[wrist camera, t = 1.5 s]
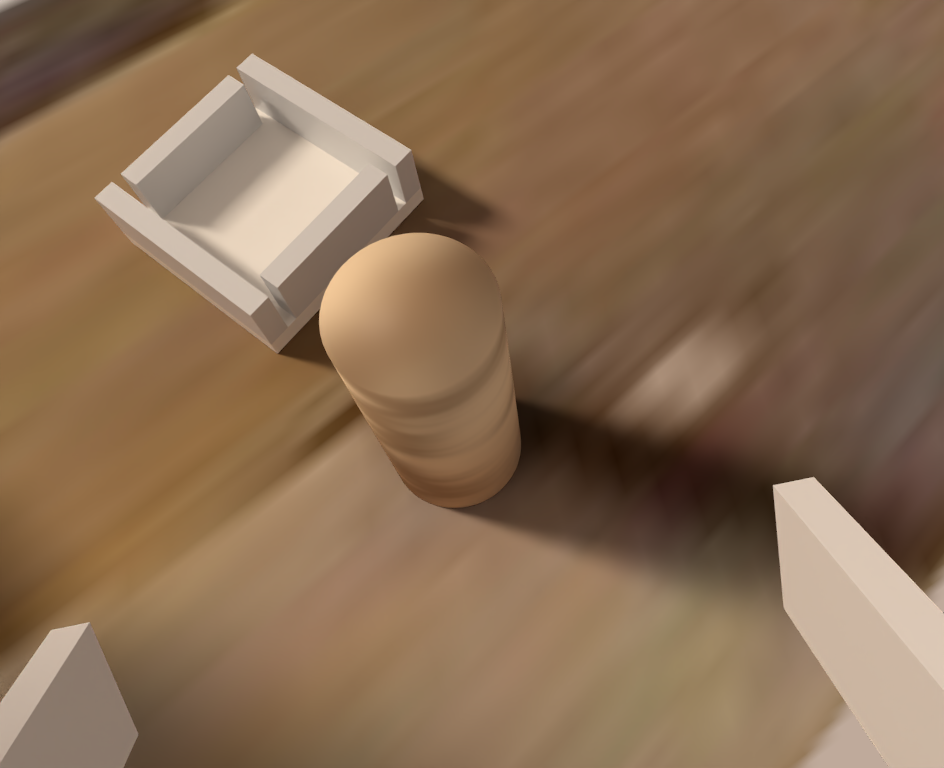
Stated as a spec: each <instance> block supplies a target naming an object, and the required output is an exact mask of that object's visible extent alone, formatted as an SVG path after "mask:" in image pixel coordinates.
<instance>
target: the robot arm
mask: <svg viewBox="0 0 944 768" xmlns="http://www.w3.org/2000/svg"><path fill="white" fill-rule="evenodd" d="M773 492H774V504H775V515H776V526H777V538H778V549H779V561H780V572H781V583H782V595H783V606H784V609H785V611H786V612H787V614H788V615H789V617H790V619H791V620H792V622H793V623H794V625H795V626H796V628H797V629H798V631H799V632H800V634H801V635H802V637H803V638H804V640H805V641H806V643H807V644H808V646H809V647H810V649H811V650H812V652H813V653H814V655H815V656H816V658H817V659H818V661H819V663H820V664H821V666H822V667H823V669H824V670H825V672H826V673H827V675H828V676H829V678H830V679H831V681H832V682H833V684H834V685H835V687H836V688H837V690H838V691H839V693H840V694H841V696H842V697H843V699H844V700H845V702H846V703H847V705H848V707H849V708H850V710H851V711H852V713H853V714H854V716H855V717H856V718H857V720H858V722H859V723H860V725H861V726H862V728H863V729H864V731H865V732H866V734H867V735H868V737H869V738H870V740H871V741H872V743H873V744H874V746H875V747H876V749H877V750H878V752H879V753H880V755H881V756H882V758H883V760H884V761H885V763H886V764H887V766H888V767H889V768H944V612H942V611H941V610H940V609H939V608H938V607H937V606H936V605H935V604H934V603H933V602H932V601H931V600H930V599H929V597H928V596H927V595H926V594H925V593H924V592H923V591H922V590H921V589H920V588H919V587H918V586H917V585H916V584H915V583H914V582H913V581H912V580H911V579H910V578H909V576H908V575H907V574H906V573H905V572H904V571H903V570H902V569H901V568H900V567H899V566H898V565H897V564H896V563H895V562H894V561H893V560H892V559H891V558H890V557H889V555H888V554H887V553H886V552H885V551H884V550H883V549H882V548H881V547H880V546H879V545H878V544H877V543H876V542H875V541H874V540H873V539H872V538H871V537H870V536H869V534H868V533H867V532H866V531H865V530H864V529H863V528H862V527H861V526H860V525H859V524H858V523H857V522H856V521H855V520H854V519H853V518H852V517H851V516H850V515H849V513H848V512H847V511H846V510H845V509H844V508H843V507H842V506H841V505H840V504H839V503H838V502H837V501H836V500H835V499H834V498H833V497H832V496H831V495H830V494H829V492H828V491H827V490H826V489H825V488H824V487H823V486H822V485H821V484H820V483H819V482H818V481H817V480H816V479H815V478H814V477H812V478H807V479H802V480H797V481H792V482H787V483H782V484H777V485H773ZM138 735H139V734H138V732H137V730H136V727H135V725H134V723H133V721H132V718H131V716H130V714H129V711H128V709H127V707H126V704H125V702H124V700H123V698H122V695H121V693H120V691H119V688H118V686H117V684H116V681H115V679H114V677H113V675H112V672H111V670H110V668H109V665H108V663H107V661H106V658H105V656H104V654H103V652H102V649H101V647H100V645H99V642H98V640H97V638H96V635H95V633H94V631H93V629H92V626H91V624H90V622H88V623H83V624H78V625H73V626H68V627H63V628H58V629H53V630H51V631H50V632H49V633H48V635H47V636H46V638H45V639H44V641H43V642H42V644H41V645H40V646H39V648H38V649H37V651H36V652H35V654H34V655H33V656H32V658H31V659H30V661H29V662H28V664H27V665H26V666H25V668H24V669H23V671H22V672H21V674H20V675H19V676H18V678H17V679H16V681H15V682H14V684H13V685H12V686H11V688H10V689H9V691H8V692H7V694H6V695H5V696H4V698H3V699H2V701H1V702H0V768H124V765H125V763H126V761H127V759H128V757H129V754H130V752H131V750H132V748H133V746H134V743H135V741H136V739H137V737H138Z"/></svg>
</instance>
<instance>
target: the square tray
mask: <svg viewBox="0 0 944 768" xmlns="http://www.w3.org/2000/svg"><path fill="white" fill-rule="evenodd" d="M237 70H238V72H239V74H240V76H241V78H242V81H243V83H244V85H245V86H244V85H243V84H242V83H240V82H239V81H237V80H235V79H234V78H232V77H231V76H229V75H228V76H227V77H226V78H225V79H224V80H223V81H222V82H221V83H219V84H218V85H217V86H216V87H215V88H214V89H213V90H212V91H211V92H210V93H209V94H207V95H206V96H205V97H204V98H203V99H202V100H201V101H200V102H199V103H198V104H196V105H195V106H194V107H193V108H192V109H191V110H190V111H189V112H188V113H187V114H186V115H184V116H183V117H182V118H181V119H180V120H179V121H178V122H177V123H176V124H175V125H174V126H172V127H171V128H170V129H169V130H168V131H167V132H166V133H165V134H164V135H163V136H162V137H160V138H159V139H158V140H157V141H156V142H155V143H154V144H153V145H152V146H151V147H149V148H148V149H147V150H146V151H145V152H144V153H143V154H142V155H141V156H140V157H139V158H137V159H136V160H135V161H134V162H133V163H132V164H131V165H130V166H129V167H128V168H127V169H125V170H124V171H123V172H122V173H121V175H122V176H123V178H124V179H125V180H126V181H127V183H128V184H129V185H130V187H131V188H132V189H133V191H134V192H135V193H136V195H137V196H138V197H139V198H140V200H141V201H142V202H143V204H144V205H145V206H146V207H145V206H144V205H143V204H141V203H140V202H139V201H137V200H136V199H135V198H133V197H132V196H130V195H129V194H128V193H126V192H125V191H124V190H122V189H121V188H120V187H118V186H117V185H116V184H114V183H113V182H111V183H110V184H109V185H108V186H107V187H106V188H105V189H104V190H102V191H101V192H100V193H99V194H98V195H97V196H96V197H95V199H96V201H97V202H98V203H99V204H100V205H101V206H102V208H103V209H104V210H105V211H106V212H107V214H108V215H109V216H110V217H111V218H112V219H113V221H114V222H115V223H116V224H117V225H118V227H119V228H120V229H121V230H122V231H123V232H124V234H125V235H126V236H127V237H128V238H129V240H130V241H131V242H132V243H133V244H135V245H136V246H137V247H139V248H140V249H141V250H143V251H144V252H145V253H146V254H148V255H149V256H150V257H152V258H153V259H154V260H156V261H157V262H158V263H160V264H161V265H162V266H163V267H165V268H166V269H167V270H169V271H170V272H171V273H173V274H174V275H175V276H177V277H178V278H179V279H180V280H182V281H183V282H184V283H186V284H187V285H188V286H190V287H191V288H192V289H194V290H195V291H196V292H197V293H199V294H200V295H201V296H203V297H204V298H205V299H207V300H208V301H209V302H211V303H212V304H213V305H214V306H216V307H217V308H218V309H220V310H221V311H222V312H224V313H225V314H226V315H228V316H229V317H230V318H231V319H233V320H234V321H235V322H237V323H238V324H239V325H241V326H242V327H243V328H245V329H246V330H247V331H248V332H250V333H251V334H252V335H254V336H255V337H256V338H258V339H259V340H260V341H262V342H263V343H264V344H265V345H267V346H268V347H269V348H271V349H272V350H273V351H275V352H276V353H277V354H278V353H279V352H280V351H281V350H282V349H283V348H284V346H285V345H286V344H287V343H288V342H289V341H290V340H291V339H292V338H293V337H294V336H295V335H296V334H297V333H298V332H299V331H300V330H301V328H302V327H303V326H304V325H305V324H306V323H307V322H308V321H309V320H310V319H311V318H312V317H313V316H314V315H315V314H316V313H317V312H318V310H319V309H320V308H321V302H322V299H323V296H324V293H325V291H326V289H327V287H328V285H329V283H330V281H331V280H332V278H333V277H334V275H335V274H336V272H337V271H338V270H339V269H340V268H341V266H342V265H343V264H344V263H345V262H346V261H347V260H348V259H350V258H351V257H352V256H353V255H355V254H356V253H357V252H359V251H360V250H361V249H363V248H365V247H367V246H368V245H370V244H372V243H375V242H377V241H379V240H381V239H385V238H387V237H388V236H389V235H390V234H391V233H392V232H393V231H394V230H395V229H396V228H397V227H398V226H399V225H400V224H401V223H402V222H403V220H404V219H405V218H406V217H407V216H408V215H409V214H410V213H411V212H412V211H413V210H414V209H415V208H416V207H417V206H418V205H419V204H420V202H421V201H422V200H423V199H424V198H423V194H422V190H421V186H420V182H419V178H418V175H417V171H416V167H415V163H414V159H413V155H412V151H411V150H410V149H409V148H407V147H406V146H404V145H402V144H401V143H399V142H397V141H396V140H394V139H392V138H391V137H389V136H387V135H386V134H384V133H382V132H381V131H379V130H377V129H376V128H374V127H372V126H371V125H369V124H368V123H366V122H364V121H363V120H361V119H359V118H358V117H356V116H354V115H353V114H351V113H349V112H348V111H346V110H344V109H343V108H341V107H339V106H338V105H336V104H334V103H333V102H331V101H330V100H328V99H326V98H325V97H323V96H321V95H320V94H318V93H316V92H315V91H313V90H311V89H310V88H308V87H306V86H305V85H303V84H301V83H300V82H298V81H296V80H295V79H293V78H292V77H290V76H288V75H287V74H285V73H283V72H282V71H280V70H278V69H277V68H275V67H273V66H272V65H270V64H268V63H267V62H265V61H263V60H262V59H260V58H258V57H257V56H255V55H254V54H251V55H250V56H249V57H248V58H247V59H246V60H245V61H243V62H242V63H241V64H240V65H239V66H238V67H237ZM245 87H246V88H245ZM246 89H247V90H246ZM247 91H248V92H247ZM248 93H249V94H248ZM249 95H250V96H249ZM250 97H251V98H250ZM251 99H252V100H251ZM252 101H253V103H252ZM253 104H254V105H253ZM254 106H255V107H254Z"/></svg>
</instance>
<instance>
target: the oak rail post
mask: <svg viewBox="0 0 944 768" xmlns="http://www.w3.org/2000/svg"><path fill="white" fill-rule="evenodd" d="M319 328H320V335H321V339H322V343H323V346H324V348H325V350H326V353H327V355H328V356H329V358H330V360H331V361H332V363H333V365H334V366H335V368H336V370H337V371H338V373H339V375H340V377H341V378H342V380H343V382H344V383H345V385H346V387H347V388H348V390H349V392H350V393H351V395H352V397H353V398H354V400H355V402H356V403H357V405H358V407H359V409H360V410H361V412H362V414H363V415H364V417H365V419H366V420H367V422H368V424H369V425H370V427H371V429H372V430H373V432H374V434H375V435H376V437H377V439H378V440H379V442H380V444H381V446H382V447H383V449H384V451H385V452H386V454H387V456H388V457H389V459H390V461H391V462H392V464H393V466H394V467H395V469H396V471H397V472H398V474H399V476H400V477H401V479H402V481H403V482H404V484H405V485H406V486H407V487H408V488H409V490H410V491H412V492H413V493H414V494H415V495H416V496H418V497H419V498H421V499H422V500H424V501H426V502H428V503H431V504H433V505H436V506H441V507H446V508H463V507H468V506H473V505H476V504H479V503H481V502H483V501H486V500H488V499H489V498H491V497H492V496H494V495H495V494H497V493H498V492H499V491H500V490H501V489H502V488H503V487H504V486H505V485H506V484H507V483H508V481H509V480H510V479H511V477H512V476H513V474H514V472H515V470H516V468H517V465H518V462H519V458H520V454H521V435H520V428H519V420H518V413H517V406H516V399H515V392H514V385H513V377H512V370H511V363H510V356H509V349H508V342H507V334H506V327H505V320H504V313H503V306H502V298H501V294H500V289H499V286H498V283H497V280H496V278H495V276H494V274H493V272H492V270H491V269H490V267H489V266H488V265H487V263H486V262H485V261H484V260H483V259H482V258H481V257H480V256H479V255H478V254H477V253H476V252H475V251H473V250H472V249H470V248H469V247H468V246H466V245H464V244H462V243H460V242H459V241H456V240H454V239H451V238H449V237H445V236H441V235H437V234H430V233H407V234H400V235H395V236H391V237H388V238H385V239H381V240H379V241H377V242H375V243H372V244H370V245H368V246H367V247H365V248H363V249H361V250H360V251H359V252H357V253H356V254H355V255H353V256H352V257H351V258H350V259H348V260H347V261H346V262H345V263H344V264H343V265H342V266H341V268H340V269H339V270H338V271H337V272H336V274H335V275H334V277H333V278H332V280H331V281H330V283H329V285H328V287H327V289H326V291H325V293H324V296H323V299H322V302H321V308H320V313H319Z"/></svg>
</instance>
